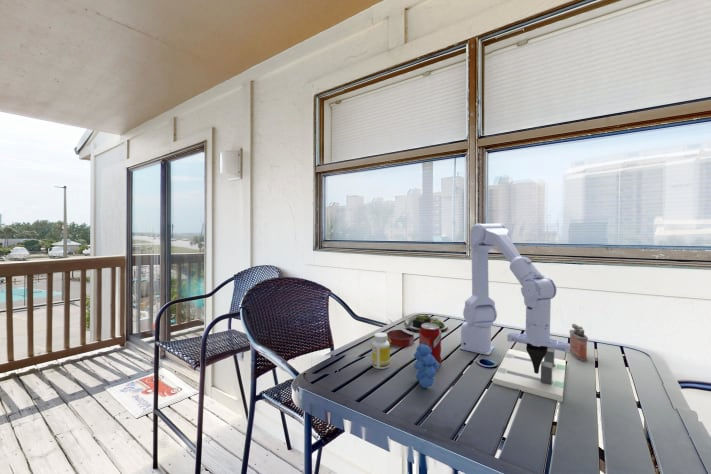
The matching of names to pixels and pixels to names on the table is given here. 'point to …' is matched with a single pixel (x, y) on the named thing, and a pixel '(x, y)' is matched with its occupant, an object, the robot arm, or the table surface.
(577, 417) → the table surface
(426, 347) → the grapes
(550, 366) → the handle
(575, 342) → the lighter
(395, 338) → the dark red bowl
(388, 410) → the table surface
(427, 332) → the soda can
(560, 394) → the switch plate
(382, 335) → the supplement bottle
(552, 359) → the on handle
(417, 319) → the salad plate
